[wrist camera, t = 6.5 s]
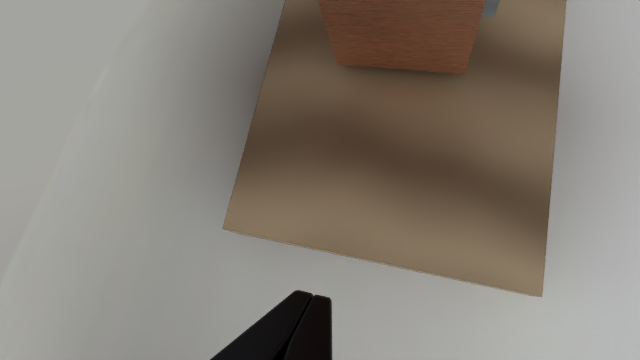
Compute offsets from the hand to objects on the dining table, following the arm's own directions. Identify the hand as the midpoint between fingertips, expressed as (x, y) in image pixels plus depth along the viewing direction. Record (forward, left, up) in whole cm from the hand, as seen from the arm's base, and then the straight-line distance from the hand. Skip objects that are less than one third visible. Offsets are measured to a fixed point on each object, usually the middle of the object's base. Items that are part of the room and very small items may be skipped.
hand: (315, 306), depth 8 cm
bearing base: (+9, +8, -9) cm, 15 cm away
